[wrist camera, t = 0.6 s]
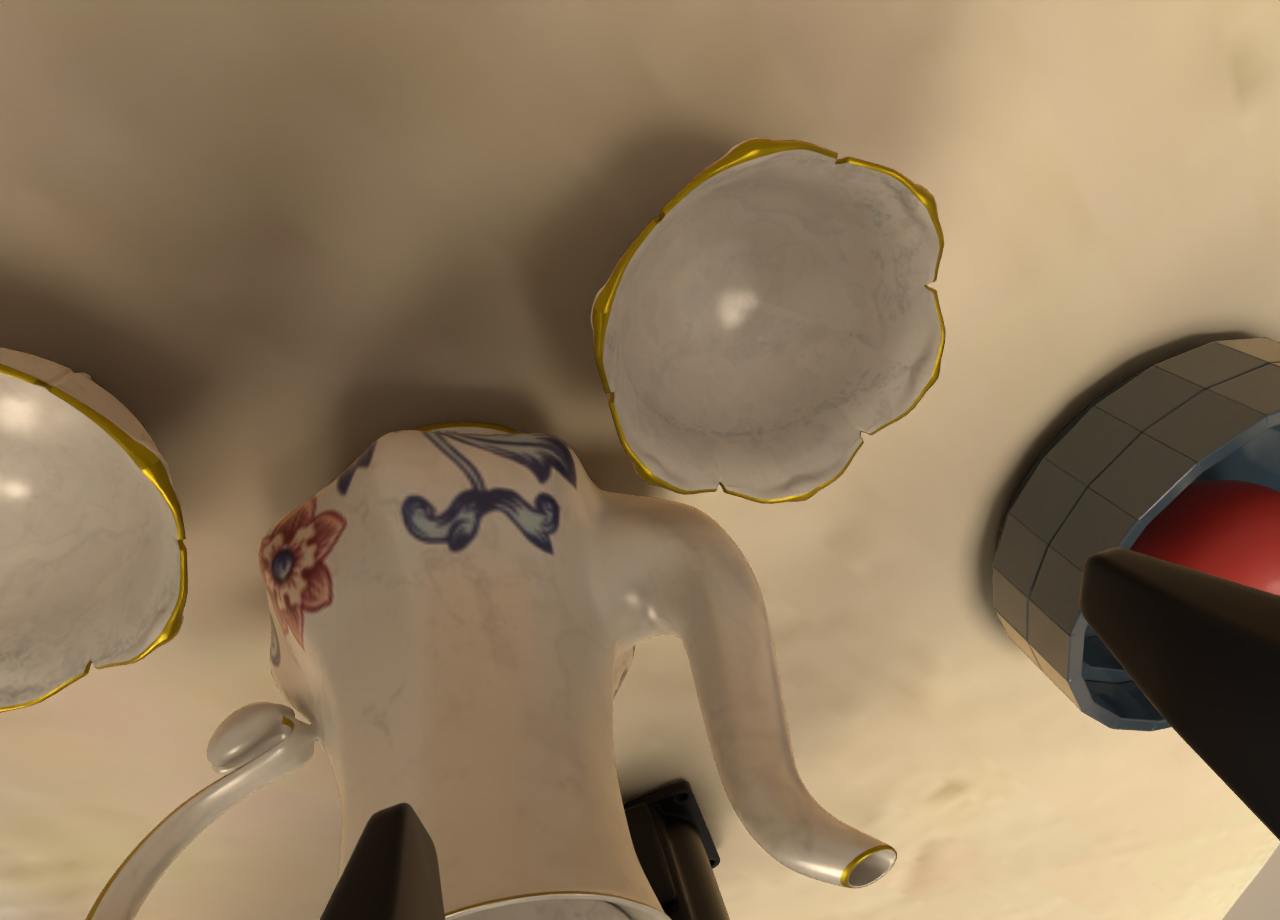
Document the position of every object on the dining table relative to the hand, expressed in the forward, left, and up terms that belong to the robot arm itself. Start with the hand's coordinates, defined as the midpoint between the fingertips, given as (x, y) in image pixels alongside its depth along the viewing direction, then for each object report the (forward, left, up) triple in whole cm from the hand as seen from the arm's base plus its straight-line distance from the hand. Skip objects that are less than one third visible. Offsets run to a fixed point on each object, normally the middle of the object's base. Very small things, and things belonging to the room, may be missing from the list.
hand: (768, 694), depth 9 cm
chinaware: (-2, +5, -14) cm, 15 cm away
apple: (-16, -20, -13) cm, 29 cm away
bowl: (-16, -20, -14) cm, 29 cm away
